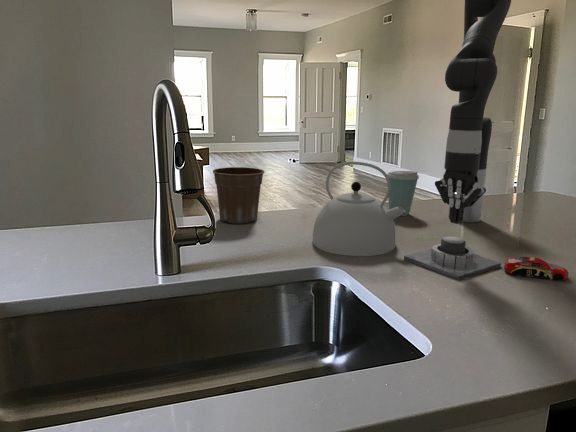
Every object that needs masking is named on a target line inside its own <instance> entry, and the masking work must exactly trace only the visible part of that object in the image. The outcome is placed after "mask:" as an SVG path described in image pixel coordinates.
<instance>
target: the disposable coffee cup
mask: <svg viewBox="0 0 576 432" xmlns="http://www.w3.org/2000/svg"><path fill="white" fill-rule="evenodd" d="M386 174H387V175H388V177H389V180H390V185H391V189H390V194H389V197H388V210H390V209H392V208H395V207H398V206H399V207H401V208H403V209H404V210H405V211H406V212H404V213H403V214H401V215H400V216H401V217H402V216H403V217H404V216H408V215H409V213H411V209H412V205H413V200H414V197H415V191H416V188H417V183H418V179H419V177H420V176H419V174H418V171H416V170H415V171H414V170H396V171H395V170H393V171H392V170H391V171H389V172H387V173H386ZM400 216H399V217H400Z"/></svg>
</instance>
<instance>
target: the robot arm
mask: <svg viewBox="0 0 576 432" xmlns="http://www.w3.org/2000/svg"><path fill="white" fill-rule="evenodd" d="M511 4H512V0H464V9H463V10H464V11H463V12H464V15H463V17H464V18H463V19H464V21H463V41H462V45H461V48H460V50H459V51H458V52H457V53H456V54H455V55H454V56H453V58H452V59H451V60H450V62H449V64H448V66H447V68H446V70H445V74H444V81H445V84H446V86H447V88H448V89H449V90H450V91H453V92H456V93H459V94H458V103H454V104H453V105H452V106H451V109H450V115H449V125H448V126H449V127H448V133H447V136H446V137H447V138H446V144H445V145H446V146H445V158H444V166H443V167H444V170H445V172H444V173H443V175H442V176H443V178H441V179H439V180H436V181H435V182H434V186H435V188H436V190H437V192H438V194H439V195H440V198H441V199H442V202H443V203H444V204H447V205H448V206H449V207H448V218H449V221H450V223H452V224H455V225H459V224H461V223H477V222H480V221H481V219H482V218H481V217H482V210H483V201H484V194H485V193H486V192H487V188H486V187H485V185H486V174H487V167H488V166H487V165H488V157H489V156H488V154H489V147H490V142H491V137H492V130H493V123H492V119H491V118H490V117H485V116H484V113H485V109H486V105H487V101H488V100H489V96H490V93H491V91H492V89H493V87H494V84H495V82H496V79H497V76H498V66H497V61H496V56H495V54H494V50H495V45H496V41H497V37H498V35H499V32H500V30H501V28H502V26H503V24H504V23H505V21H506V17H507V15H508V13H509V11H510V7H511ZM479 18H480V19H479ZM478 19H479V20H478Z"/></svg>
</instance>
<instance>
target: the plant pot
mask: <svg viewBox="0 0 576 432" xmlns="http://www.w3.org/2000/svg"><path fill="white" fill-rule="evenodd" d="M212 173H213V175H214V176H213V177H214V183H215V185H216V194H217V202H218V213H219V220H220V221H221V222H224V223H226V222H227V223H228V224H233V225H234V224H237V225H242V224H243V225H244V224H250V223H252V222H256V221H257V220H258V216H259V215H258V213H259V204H260V194H261V185H262V183H263V175H264V174H265V170H264V169H262V168H255V167H243V166H237V167H235V166H231V167H230V166H229V167H219V168H215V169H213V170H212Z"/></svg>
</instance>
